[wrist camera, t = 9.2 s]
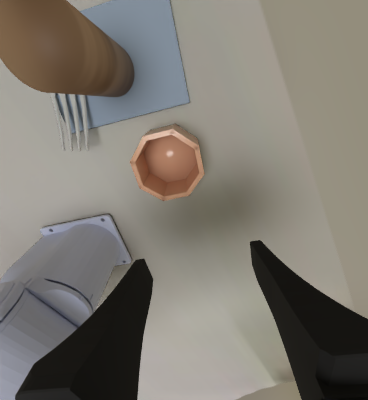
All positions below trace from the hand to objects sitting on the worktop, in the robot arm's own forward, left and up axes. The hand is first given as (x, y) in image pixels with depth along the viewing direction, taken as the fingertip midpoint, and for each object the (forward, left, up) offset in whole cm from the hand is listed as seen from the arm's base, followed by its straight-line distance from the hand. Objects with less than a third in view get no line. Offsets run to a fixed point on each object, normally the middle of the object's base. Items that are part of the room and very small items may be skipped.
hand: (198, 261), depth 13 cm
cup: (-1, +5, -10) cm, 12 cm away
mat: (-4, +13, -10) cm, 18 cm away
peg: (-4, +13, -10) cm, 17 cm away
